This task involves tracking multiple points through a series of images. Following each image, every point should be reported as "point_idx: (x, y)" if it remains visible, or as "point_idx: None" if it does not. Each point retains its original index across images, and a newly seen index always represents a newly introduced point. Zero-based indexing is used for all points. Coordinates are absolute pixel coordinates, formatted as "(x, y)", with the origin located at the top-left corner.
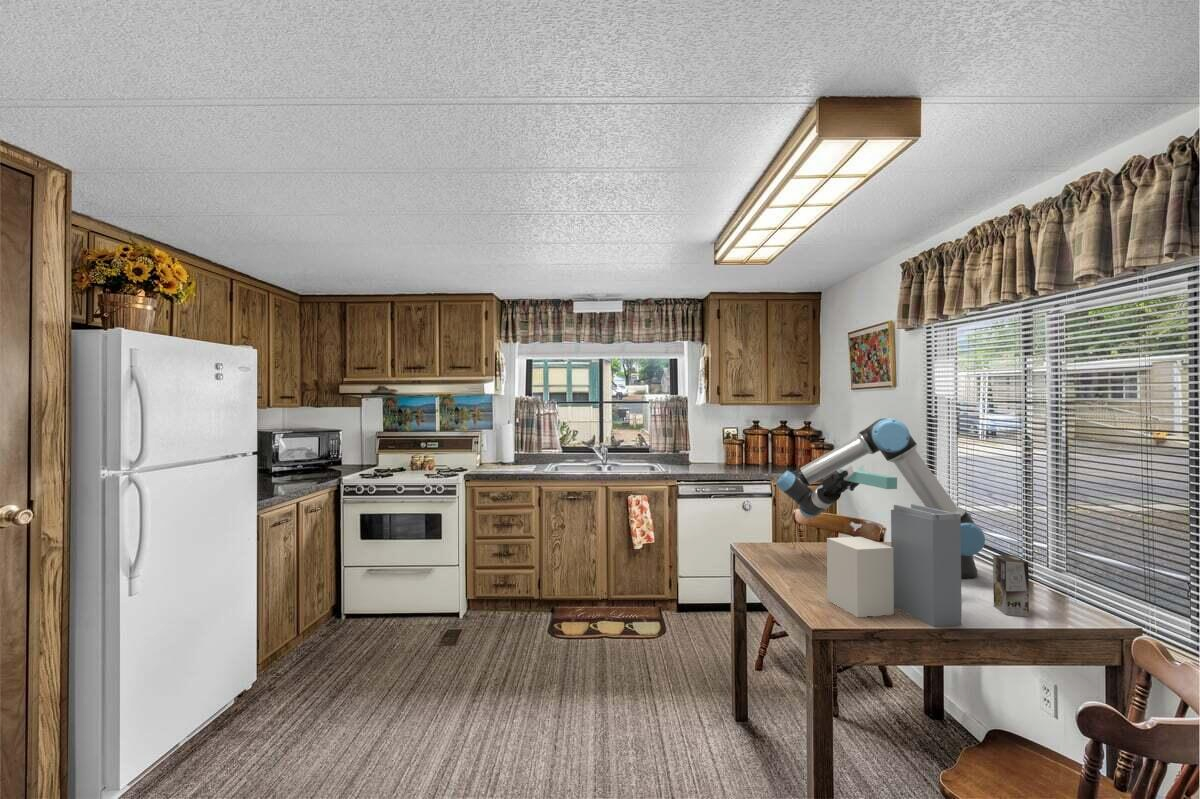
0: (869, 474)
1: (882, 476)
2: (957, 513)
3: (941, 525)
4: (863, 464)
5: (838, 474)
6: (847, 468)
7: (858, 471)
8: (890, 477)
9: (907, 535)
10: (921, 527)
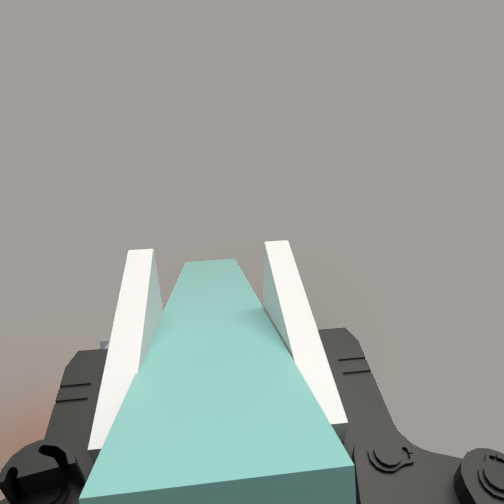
0: (244, 276)
1: (227, 264)
2: (104, 340)
3: None
4: (149, 249)
5: (409, 456)
6: (306, 302)
7: (198, 326)
8: (215, 260)
9: None
10: None
